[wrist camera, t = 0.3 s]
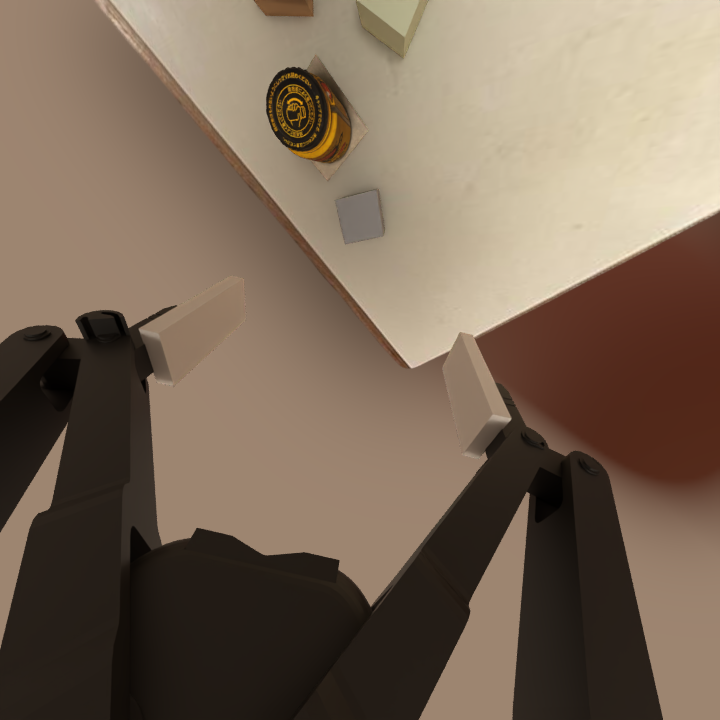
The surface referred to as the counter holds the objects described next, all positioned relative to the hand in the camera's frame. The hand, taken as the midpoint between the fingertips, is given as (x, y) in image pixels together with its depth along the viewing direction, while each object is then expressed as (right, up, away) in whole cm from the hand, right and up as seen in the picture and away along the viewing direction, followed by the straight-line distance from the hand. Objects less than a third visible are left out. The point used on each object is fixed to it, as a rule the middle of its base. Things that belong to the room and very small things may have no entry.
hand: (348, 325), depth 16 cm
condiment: (-4, +26, +15) cm, 31 cm away
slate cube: (+1, +18, +20) cm, 27 cm away
